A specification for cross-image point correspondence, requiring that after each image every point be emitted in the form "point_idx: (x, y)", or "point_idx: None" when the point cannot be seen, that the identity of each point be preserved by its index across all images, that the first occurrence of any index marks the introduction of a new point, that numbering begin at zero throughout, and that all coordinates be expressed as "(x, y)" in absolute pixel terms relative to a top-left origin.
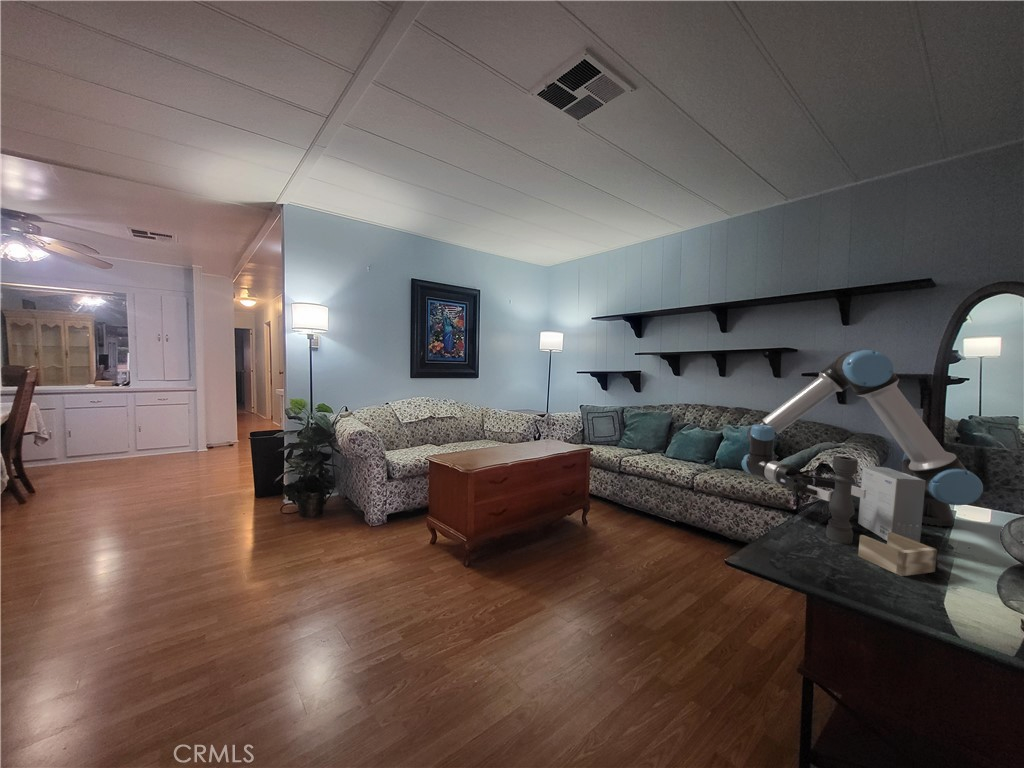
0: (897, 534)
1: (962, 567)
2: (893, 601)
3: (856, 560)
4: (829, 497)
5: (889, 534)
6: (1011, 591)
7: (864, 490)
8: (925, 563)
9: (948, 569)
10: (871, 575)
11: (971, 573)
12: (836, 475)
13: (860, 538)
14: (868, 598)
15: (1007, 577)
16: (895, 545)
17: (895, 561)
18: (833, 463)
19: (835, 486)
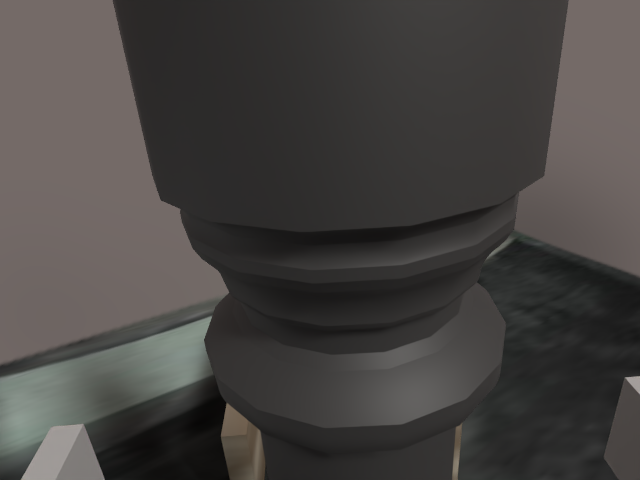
0: (226, 411)
1: (104, 399)
2: (562, 297)
3: (499, 469)
4: (622, 425)
5: (248, 434)
6: (179, 312)
7: (79, 431)
8: None
9: (178, 392)
10: (526, 380)
11: (139, 371)
12: (461, 306)
13: (459, 426)
14: (628, 305)
15: (66, 352)
16: (256, 443)
17: None
18: (558, 68)
19: (449, 463)
